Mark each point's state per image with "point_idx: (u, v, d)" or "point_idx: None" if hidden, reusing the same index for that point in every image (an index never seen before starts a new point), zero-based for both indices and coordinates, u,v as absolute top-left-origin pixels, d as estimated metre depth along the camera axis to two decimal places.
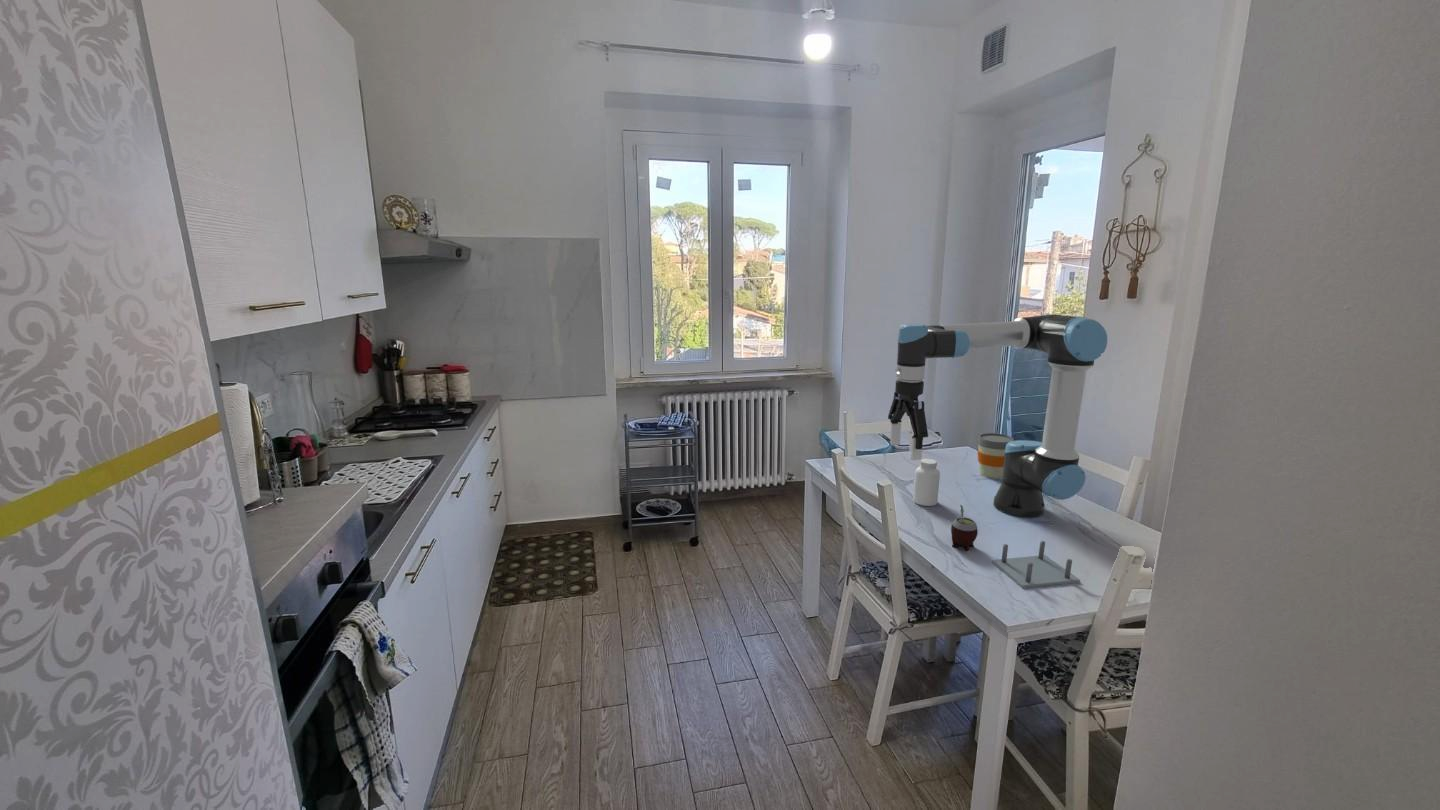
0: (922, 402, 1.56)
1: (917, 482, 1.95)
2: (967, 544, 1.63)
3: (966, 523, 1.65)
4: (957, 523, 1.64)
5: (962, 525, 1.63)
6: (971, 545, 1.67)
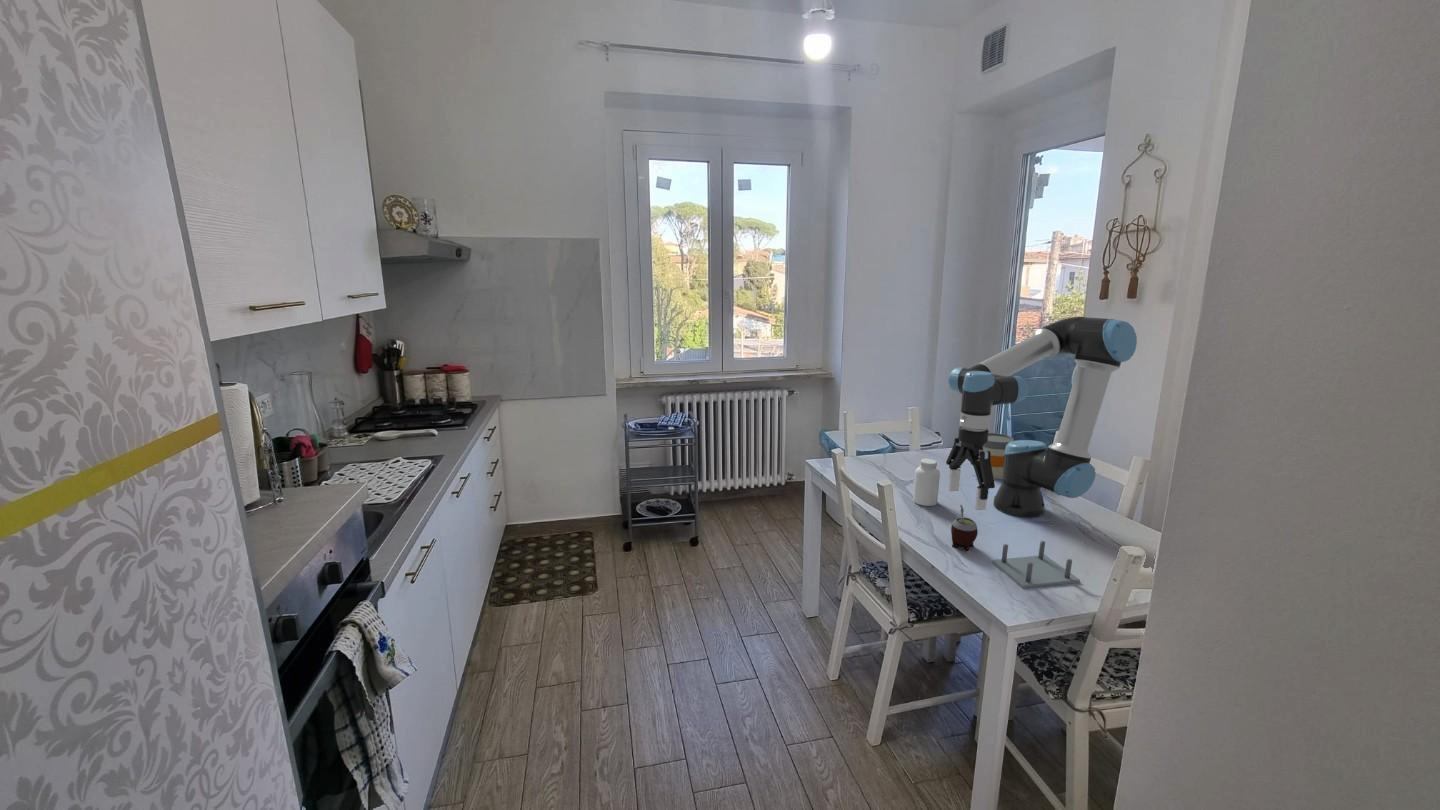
0: (988, 452, 1.53)
1: (917, 482, 1.95)
2: (967, 544, 1.63)
3: (966, 523, 1.65)
4: (957, 523, 1.64)
5: (962, 525, 1.63)
6: (971, 545, 1.67)
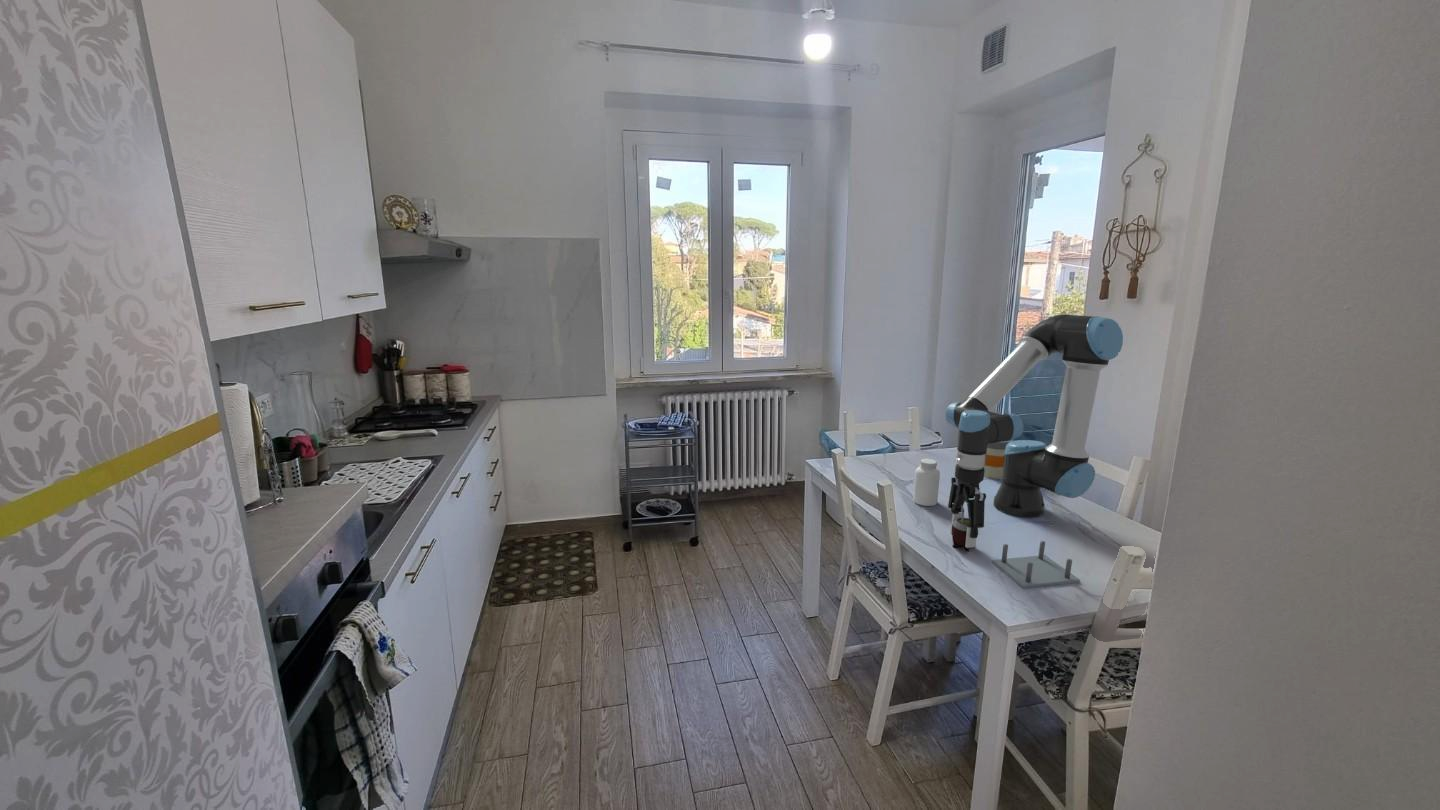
0: (984, 495, 1.56)
1: (917, 482, 1.95)
2: None
3: (966, 523, 1.65)
4: (958, 523, 1.64)
5: (963, 525, 1.63)
6: None
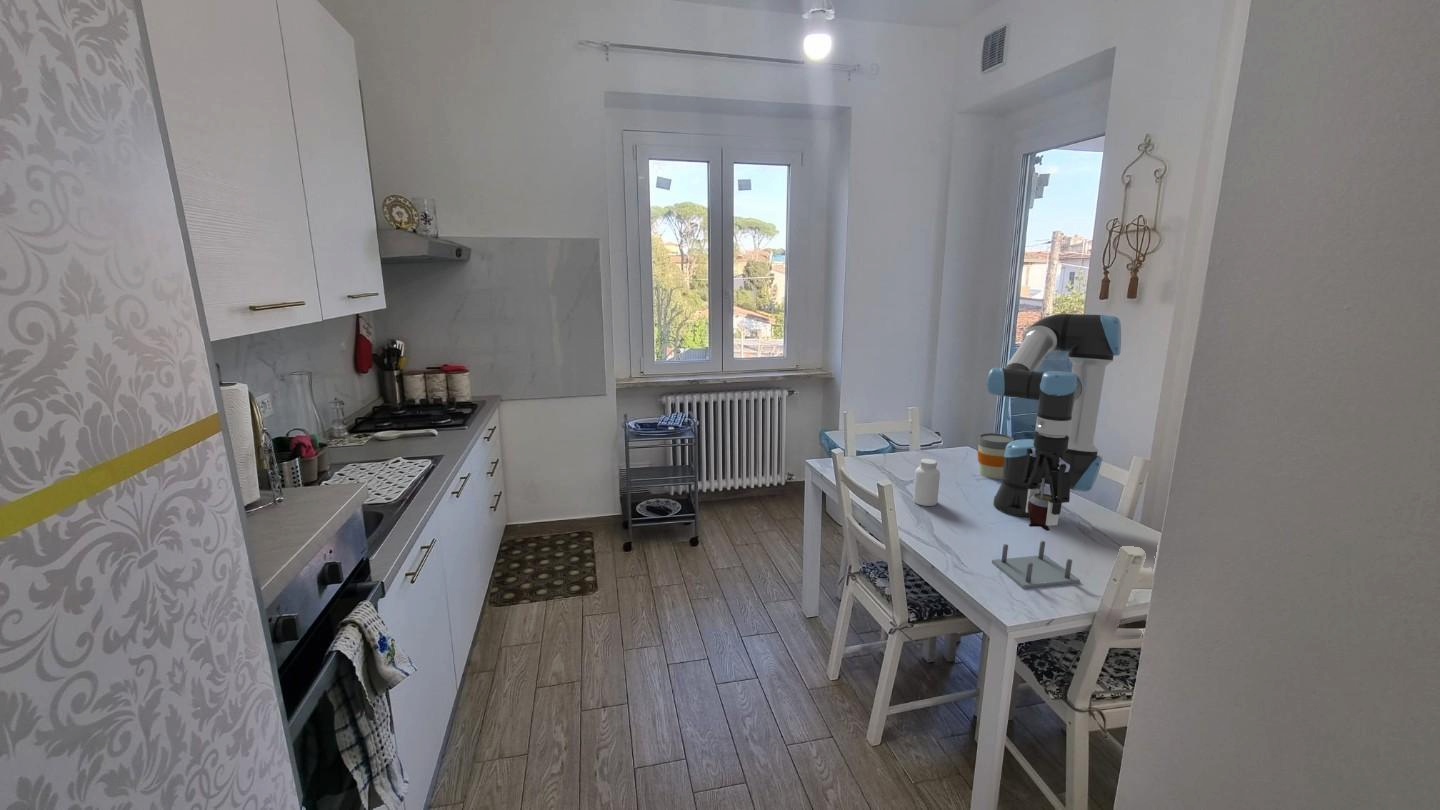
0: (1070, 465, 1.39)
1: (917, 482, 1.95)
2: None
3: (1046, 499, 1.47)
4: (1036, 499, 1.47)
5: (1042, 501, 1.45)
6: None
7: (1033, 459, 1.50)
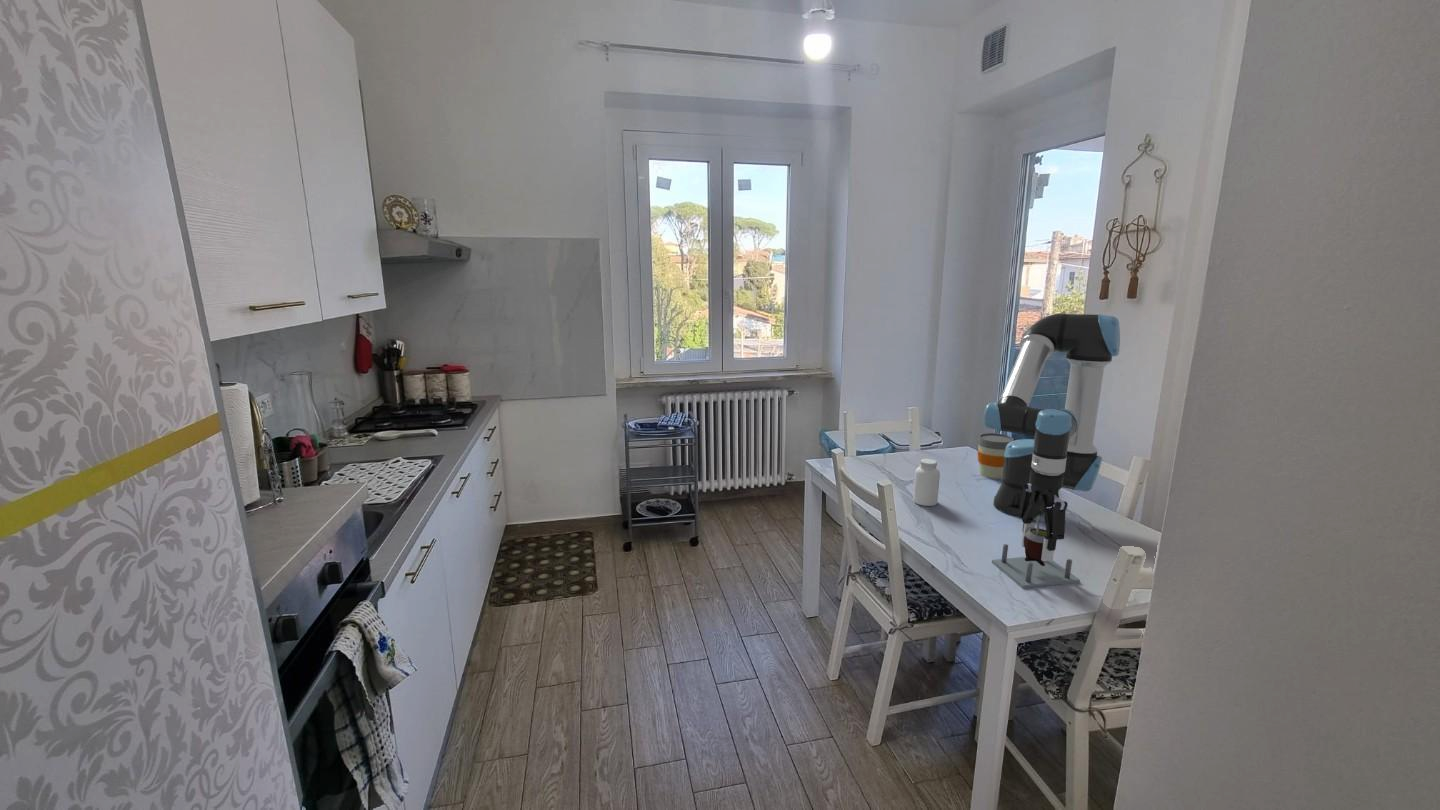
0: (1065, 503, 1.41)
1: (917, 482, 1.95)
2: None
3: (1041, 534, 1.50)
4: (1032, 534, 1.49)
5: (1038, 537, 1.48)
6: None
7: (1029, 494, 1.53)
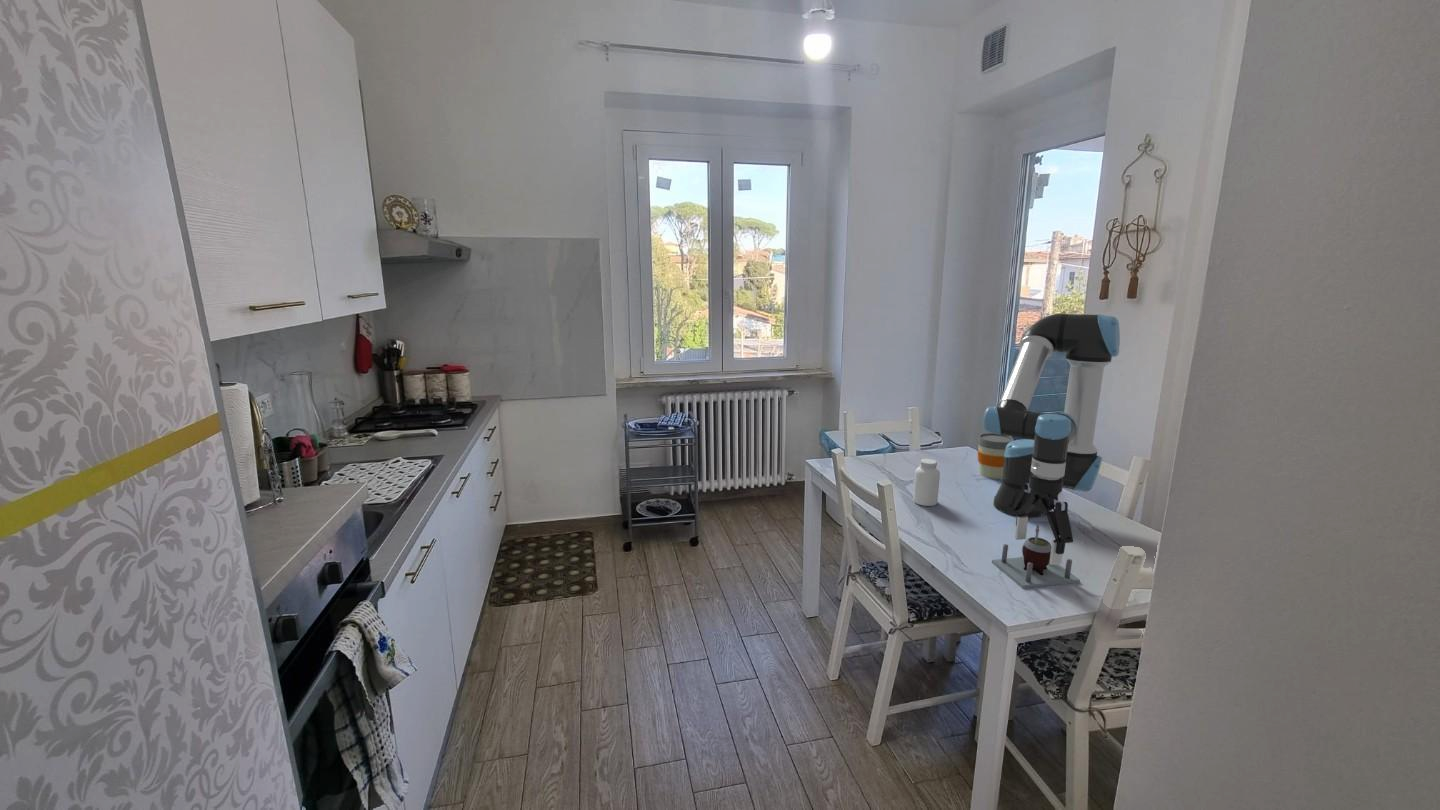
0: (1065, 503, 1.41)
1: (917, 482, 1.95)
2: (1042, 567, 1.49)
3: (1040, 544, 1.50)
4: (1030, 544, 1.50)
5: (1037, 546, 1.49)
6: (1044, 567, 1.52)
7: (1027, 494, 1.54)
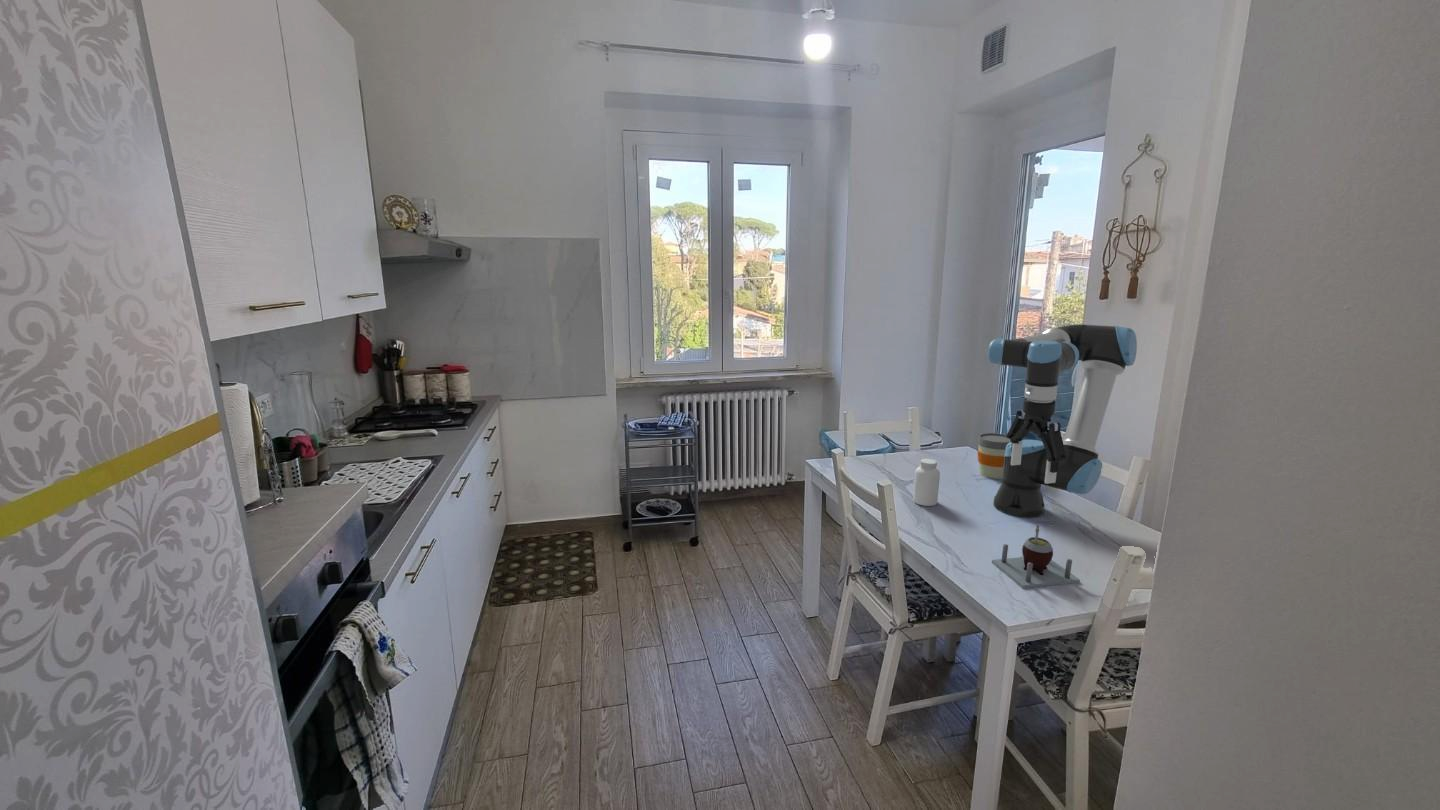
0: (1058, 424, 1.48)
1: (917, 482, 1.95)
2: (1042, 567, 1.49)
3: (1040, 544, 1.50)
4: (1030, 544, 1.50)
5: (1037, 546, 1.49)
6: (1044, 567, 1.52)
7: (1021, 420, 1.61)
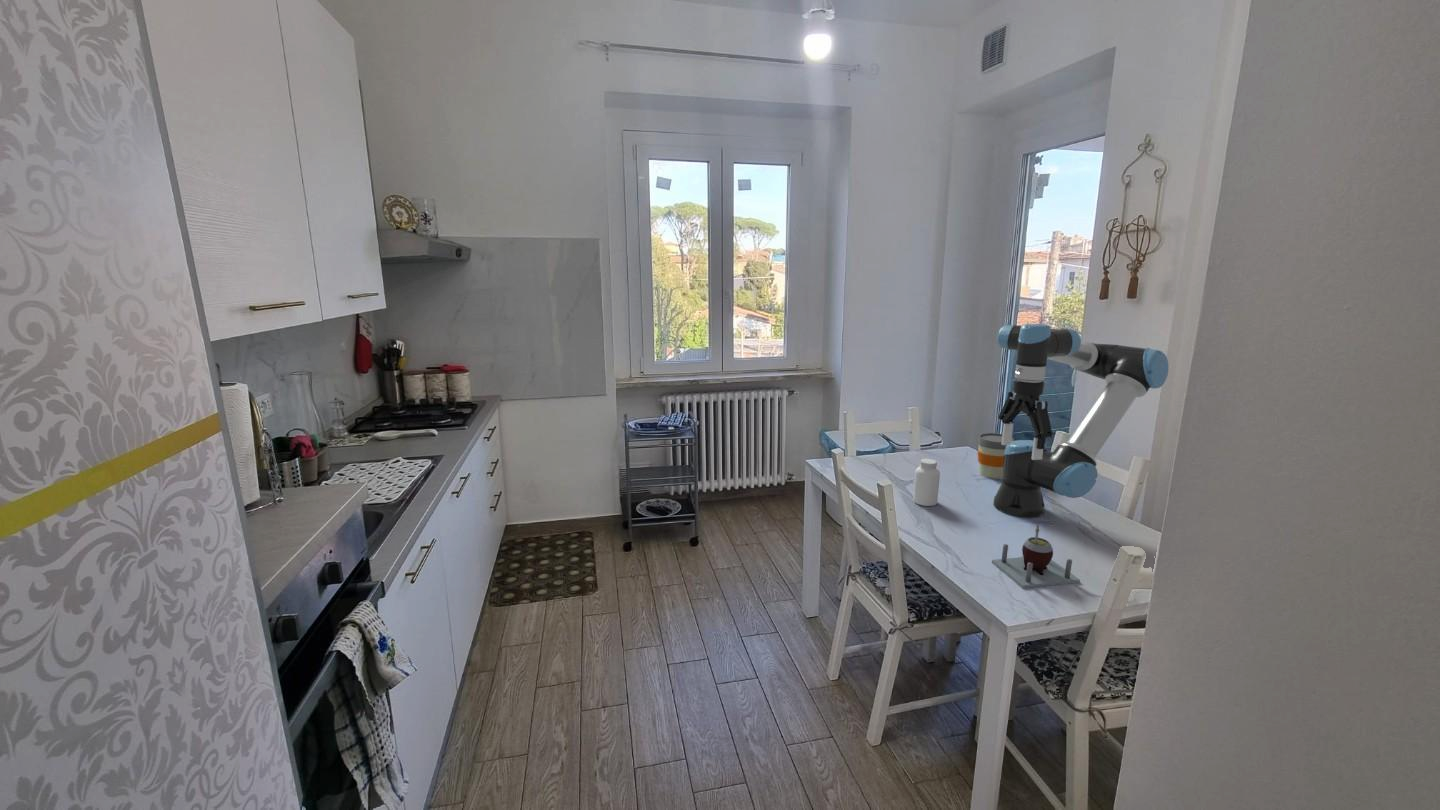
0: (1045, 402, 1.56)
1: (917, 482, 1.95)
2: (1042, 567, 1.49)
3: (1040, 544, 1.50)
4: (1030, 544, 1.50)
5: (1036, 546, 1.49)
6: (1044, 567, 1.52)
7: (1012, 401, 1.69)
